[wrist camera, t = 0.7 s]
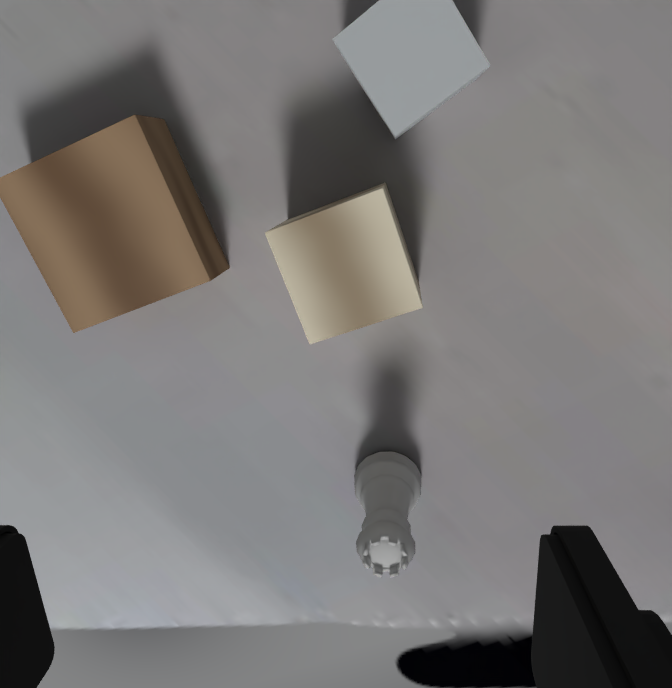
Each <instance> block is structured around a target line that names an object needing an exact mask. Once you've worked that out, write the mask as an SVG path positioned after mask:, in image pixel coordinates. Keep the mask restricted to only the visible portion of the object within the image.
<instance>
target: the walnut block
mask: <svg viewBox="0 0 672 688" xmlns="http://www.w3.org/2000/svg"><path fill="white" fill-rule="evenodd" d="M0 198H1V200H2V202H3V203H4V205H5V207H6V209H7V211H8V213H9V215H10V216H11V218H12V220H13V222H14V224H15V226H16V228H17V229H18V231H19V233H20V235H21V237H22V239H23V240H24V242H25V244H26V246H27V248H28V250H29V252H30V253H31V255H32V257H33V259H34V261H35V263H36V265H37V266H38V268H39V270H40V272H41V274H42V276H43V277H44V279H45V281H46V283H47V285H48V287H49V289H50V290H51V292H52V294H53V296H54V298H55V300H56V302H57V303H58V305H59V307H60V309H61V311H62V313H63V315H64V316H65V318H66V320H67V322H68V324H69V326H70V327H71V329H72V331H73V333H75V332H77V331H80V330H83V329H85V328H88V327H91V326H93V325H96V324H98V323H101V322H104V321H106V320H109V319H111V318H114V317H117V316H119V315H122V314H125V313H127V312H130V311H132V310H135V309H138V308H140V307H143V306H146V305H148V304H151V303H153V302H156V301H159V300H161V299H164V298H166V297H169V296H172V295H174V294H177V293H180V292H182V291H185V290H187V289H190V288H193V287H195V286H198V285H201V284H203V283H206V282H208V281H211V280H212V279H214V278H215V277H217V276H218V275H220V274H221V273H223V272H224V271H226V270H227V269H229V268H230V267H229V265H228V263H227V260H226V258H225V256H224V254H223V251H222V249H221V247H220V245H219V242H218V240H217V238H216V236H215V233H214V231H213V229H212V227H211V224H210V222H209V220H208V217H207V215H206V213H205V211H204V208H203V206H202V204H201V202H200V199H199V197H198V195H197V193H196V190H195V188H194V186H193V184H192V181H191V179H190V177H189V175H188V172H187V170H186V168H185V165H184V163H183V161H182V159H181V156H180V154H179V152H178V150H177V147H176V145H175V143H174V141H173V138H172V136H171V134H170V132H169V129H168V127H167V125H166V122H165V120H164V119H160V118H153V117H147V116H141V115H133V116H131V117H129V118H126V119H124V120H122V121H120V122H118V123H116V124H114V125H111V126H109V127H107V128H105V129H103V130H101V131H99V132H96V133H94V134H92V135H90V136H88V137H86V138H84V139H82V140H79V141H77V142H75V143H73V144H71V145H69V146H67V147H64V148H62V149H60V150H58V151H56V152H54V153H52V154H50V155H47V156H45V157H43V158H41V159H39V160H37V161H35V162H32V163H30V164H28V165H26V166H24V167H22V168H20V169H18V170H15V171H13V172H11V173H9V174H7V175H5V176H3V177H0Z"/></svg>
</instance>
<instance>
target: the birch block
mask: <svg viewBox="0 0 672 688" xmlns="http://www.w3.org/2000/svg"><path fill="white" fill-rule="evenodd" d="M265 235H266V237H267V240H268V242H269V245H270V247H271V249H272V252H273V254H274V257H275V259H276V262H277V264H278V267H279V269H280V272H281V274H282V277H283V279H284V282H285V284H286V287H287V289H288V292H289V294H290V297H291V299H292V302H293V304H294V307H295V309H296V312H297V314H298V317H299V319H300V321H301V324H302V326H303V329H304V331H305V334H306V336H307V339H308V341H309V344H313V343H316V342H319V341H322V340H325V339H328V338H331V337H334V336H337V335H340V334H344V333H347V332H350V331H353V330H356V329H359V328H362V327H365V326H368V325H371V324H374V323H377V322H380V321H383V320H386V319H390V318H393V317H396V316H399V315H402V314H405V313H408V312H411V311H414V310H417V309H420V308H423V305H422V299H421V293H420V287H419V281H418V278H417V275H416V272H415V269H414V266H413V263H412V260H411V257H410V254H409V251H408V248H407V245H406V242H405V239H404V236H403V233H402V230H401V227H400V224H399V221H398V218H397V215H396V212H395V209H394V206H393V203H392V200H391V197H390V194H389V191H388V188H387V185H386V182H385V183H383V184H380V185H377V186H375V187H372V188H369V189H367V190H364V191H362V192H359V193H356V194H354V195H351V196H348V197H346V198H343V199H341V200H338V201H335V202H333V203H330V204H327V205H325V206H322V207H319V208H317V209H314V210H312V211H309V212H306V213H304V214H301V215H298V216H296V217H293V218H291V219H288V220H286V221H284V222H283V223H281V224H279V225H277V226H276V227H274V228H272V229H270V230H269V231H267V232H265Z"/></svg>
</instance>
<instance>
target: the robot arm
mask: <svg viewBox="0 0 672 688" xmlns="http://www.w3.org/2000/svg"><path fill="white" fill-rule="evenodd" d="M53 656H54V642H53V638H52V635H51V631H50V627H49V624H48V620H47V616H46V613H45V609H44V605H43V602H42V598H41V594H40V591H39V587H38V583H37V579H36V576H35V572H34V568H33V565H32V561H31V557H30V554H29V550H28V546H27V543H26V540H25V537H24V536H23V535H22V534H19V533H18V531H17V529H16V528H15V527H14V526H10V525H0V688H37V686H38V685H39V683H40V681H41V680H42V678H43V677H44V675H45V674H46V672H47V671H48V669H49V667H50V665H51V663H52V660H53ZM531 661H532V670H533V675H534V679H535V683H536V686H537V688H672V635H671V633H670V632H669V630H668V629H667V627H666V625H665V624H664V622H663V621H662V620H661V618H660V617H659V616H658V615H657V614H656V613H654V612H653V611H652V610H638V608H637V607H636V605H635V603H634V602H633V600H632V598H631V596H630V595H629V593H628V591H627V589H626V588H625V586H624V584H623V583H622V581H621V579H620V577H619V576H618V574H617V572H616V571H615V569H614V567H613V565H612V564H611V562H610V560H609V558H608V557H607V555H606V553H605V552H604V550H603V548H602V546H601V545H600V543H599V541H598V540H597V538H596V536H595V534H594V533H593V531H592V530H591V528H590V527H588V526H553V527H552V529H551V534H550V535H541V538H540V547H539V560H538V573H537V586H536V599H535V612H534V625H533V638H532V651H531Z"/></svg>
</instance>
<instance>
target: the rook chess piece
mask: <svg viewBox="0 0 672 688" xmlns="http://www.w3.org/2000/svg"><path fill="white" fill-rule="evenodd" d="M354 477H355V483H354V484H355V495H356V498H357V499H358V501H359V503H360V505H361V507H362V508H363V509H364V510H365V512H366V517H365V519H364V521H363V524H362V531H361V532H360V534H359V536H358V539H357V541H356V547H357V553H358V554H359V556H360V558H361V560H362V561H363V562H362V563H363V564H364V566H365V568H366V569H368V568H370V567H371V568H373V575H375V576H378V577H381V578H382V574H383V572H390V577H391V578H392V577H395V576H399V569H401V568H403V569H404V570H406V568H407V566H408V564H409V562H410V561H411V560H412V558H413V556H414V554H415V541H414V539H413V538H412V536H411V529H410V524H409V522H408V520H407V519H408V514H409V513H410V512H411V510H412V509H413V508H415V506H416V504H417V501H418V499H419V497H420V495H421V474H420V472H419V470H418V468H417V466H416V464H415V463H413V462H412V461H411V460H410V459H409V458H407V457H406V456H404V455H401V454H398V453H396V452H378V453H375V454H372V455H370V456H367V457H366V458H365V459H364V460H363V461H362V462H361V463H360V464H359V465H358V468H357V470H356V473H355V475H354Z"/></svg>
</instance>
